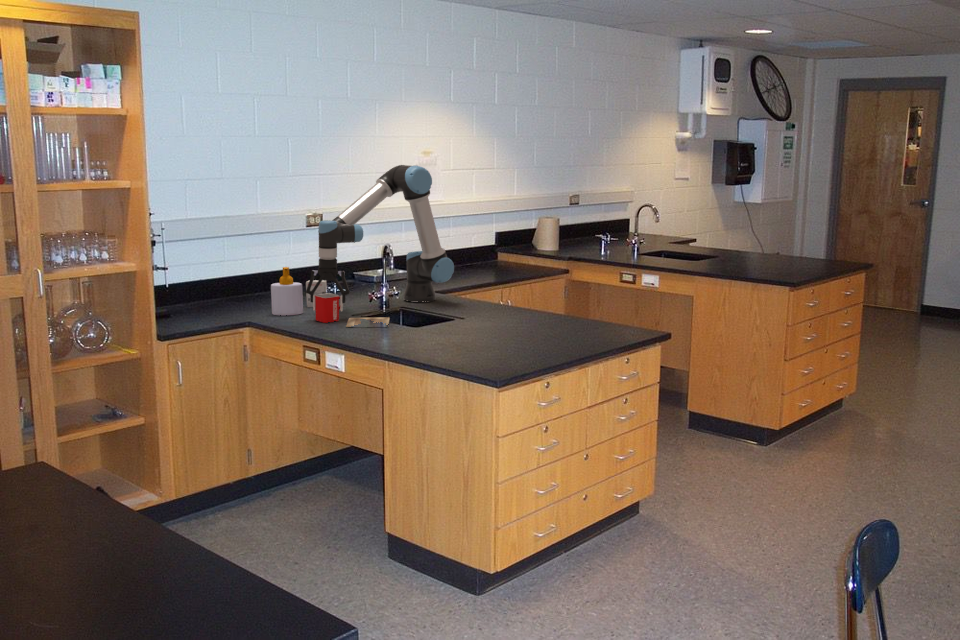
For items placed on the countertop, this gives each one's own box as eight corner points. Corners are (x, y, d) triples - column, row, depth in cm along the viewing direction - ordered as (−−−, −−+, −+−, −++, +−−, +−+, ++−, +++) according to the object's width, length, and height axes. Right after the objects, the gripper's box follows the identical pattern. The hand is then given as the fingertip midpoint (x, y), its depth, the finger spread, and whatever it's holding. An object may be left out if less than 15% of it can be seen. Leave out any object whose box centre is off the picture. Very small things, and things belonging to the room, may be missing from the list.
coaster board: (389, 318, 396) (389, 317, 396) (388, 327, 379) (388, 325, 379) (349, 319, 395) (349, 317, 395) (345, 327, 378) (345, 326, 378)
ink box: (328, 305, 424) (327, 279, 421) (325, 307, 419) (324, 281, 417) (309, 305, 425) (308, 279, 422) (306, 307, 420) (305, 281, 417)
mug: (324, 323, 386) (324, 298, 384) (313, 320, 392) (313, 295, 389) (348, 319, 394) (348, 294, 392) (336, 316, 400) (336, 291, 398)
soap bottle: (272, 316, 400) (269, 269, 396) (272, 312, 408) (270, 266, 404) (303, 315, 403) (301, 268, 399) (302, 311, 411) (301, 265, 407)
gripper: (356, 257, 392) (356, 309, 396) (301, 256, 391) (301, 308, 395) (355, 259, 385) (355, 312, 389) (298, 258, 383) (299, 311, 388)
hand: (328, 310), depth 392 cm, fingers open, 11 cm apart
